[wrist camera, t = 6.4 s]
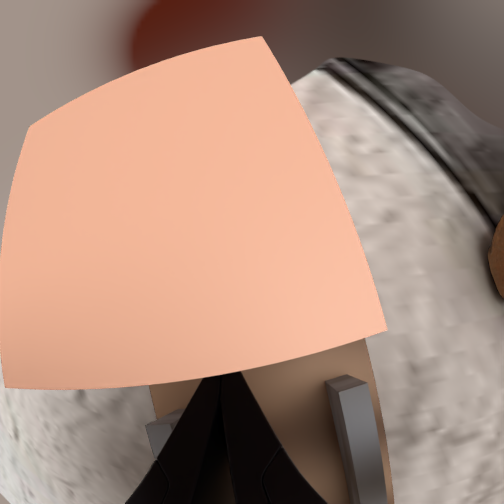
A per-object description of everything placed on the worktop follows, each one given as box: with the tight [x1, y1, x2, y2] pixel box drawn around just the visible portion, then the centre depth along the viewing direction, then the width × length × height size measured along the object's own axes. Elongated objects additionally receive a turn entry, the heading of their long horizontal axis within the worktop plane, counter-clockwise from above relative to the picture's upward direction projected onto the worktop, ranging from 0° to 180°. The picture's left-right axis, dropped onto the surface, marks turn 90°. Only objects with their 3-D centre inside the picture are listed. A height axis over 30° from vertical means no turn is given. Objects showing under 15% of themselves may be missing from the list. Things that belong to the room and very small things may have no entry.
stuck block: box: [0, 36, 387, 390], centre depth 10 cm, size 6×6×12 cm
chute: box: [145, 338, 394, 504], centre depth 11 cm, size 22×12×6 cm, turn 13°
